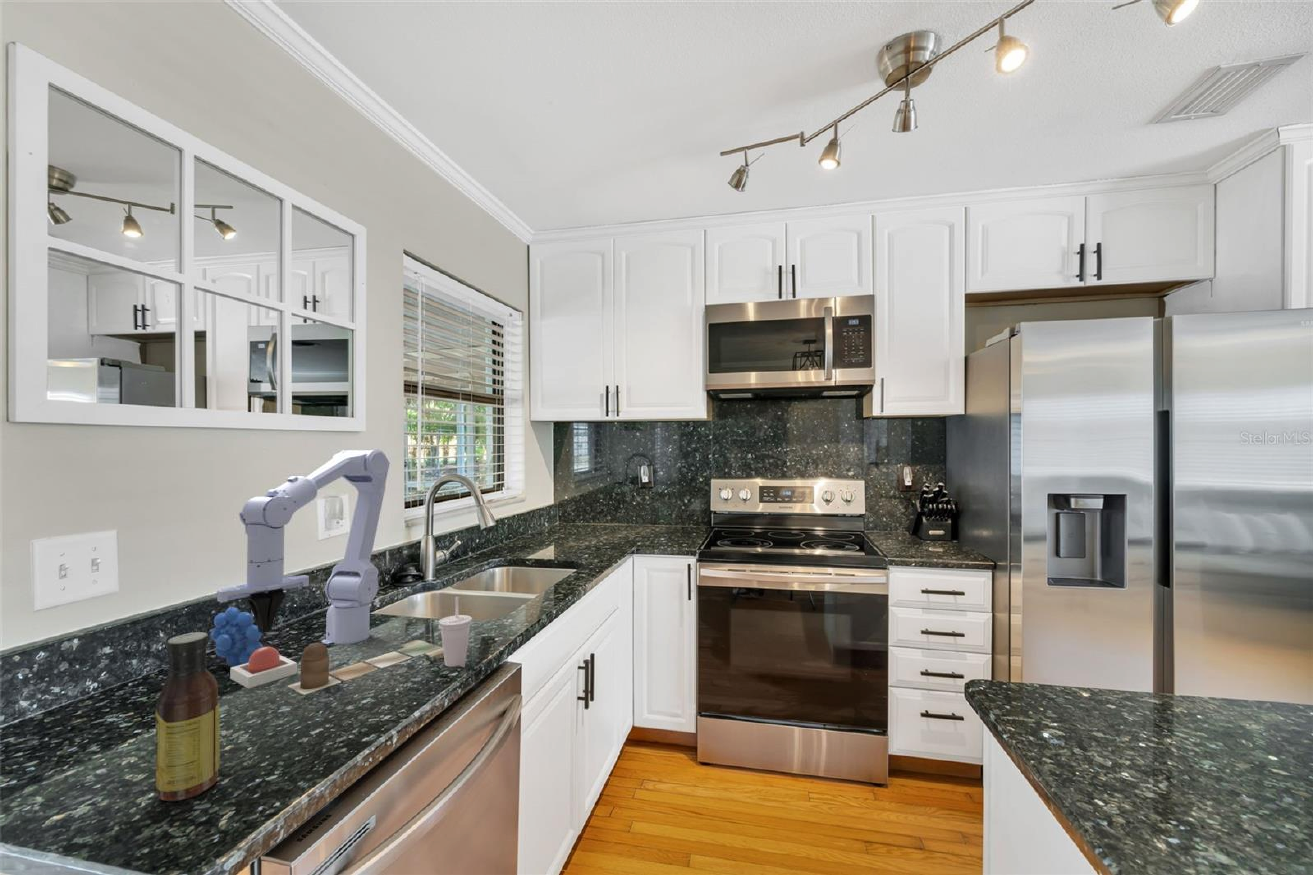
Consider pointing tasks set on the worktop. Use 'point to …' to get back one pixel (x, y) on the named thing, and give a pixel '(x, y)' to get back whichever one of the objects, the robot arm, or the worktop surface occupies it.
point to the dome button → (263, 660)
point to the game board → (377, 663)
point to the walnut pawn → (314, 666)
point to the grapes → (235, 636)
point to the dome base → (262, 673)
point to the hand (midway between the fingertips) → (264, 631)
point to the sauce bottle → (187, 722)
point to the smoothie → (455, 638)
